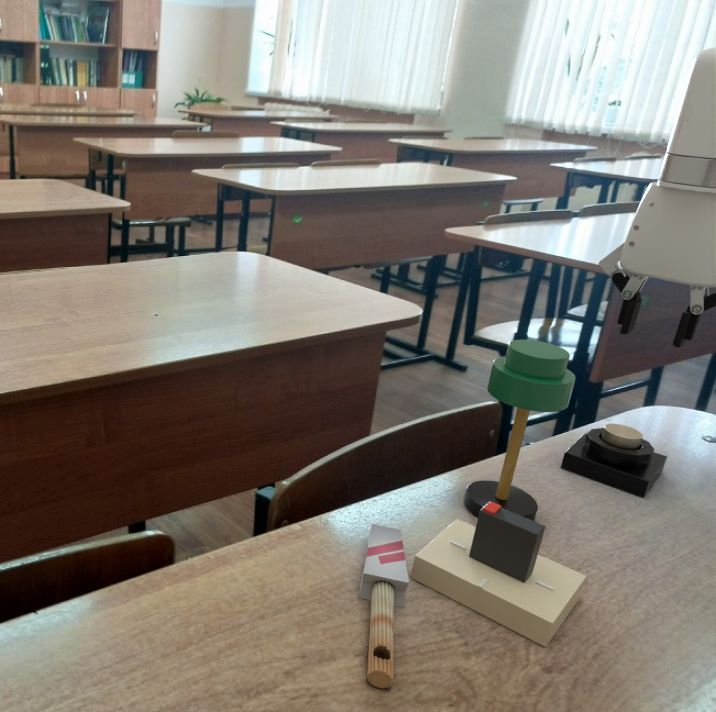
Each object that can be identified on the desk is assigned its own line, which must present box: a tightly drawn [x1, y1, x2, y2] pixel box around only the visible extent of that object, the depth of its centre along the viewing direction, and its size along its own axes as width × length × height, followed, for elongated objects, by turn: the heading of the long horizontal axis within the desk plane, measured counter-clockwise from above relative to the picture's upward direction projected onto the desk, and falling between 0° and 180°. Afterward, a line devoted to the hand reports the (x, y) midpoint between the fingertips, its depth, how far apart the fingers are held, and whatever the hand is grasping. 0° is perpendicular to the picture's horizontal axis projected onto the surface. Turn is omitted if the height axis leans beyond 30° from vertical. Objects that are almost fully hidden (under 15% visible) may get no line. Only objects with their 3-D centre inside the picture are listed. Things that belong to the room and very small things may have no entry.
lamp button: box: [601, 423, 643, 450], centre depth 88 cm, size 4×4×2 cm
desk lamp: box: [463, 339, 577, 522], centre depth 76 cm, size 8×8×19 cm
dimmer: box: [410, 518, 588, 648], centre depth 66 cm, size 12×9×3 cm
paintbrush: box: [358, 523, 410, 689], centre depth 64 cm, size 4×3×20 cm
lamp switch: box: [560, 427, 668, 499], centre depth 89 cm, size 9×9×4 cm
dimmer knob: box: [469, 502, 546, 582], centre depth 65 cm, size 5×2×5 cm, turn 46°
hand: (652, 336), depth 83 cm, fingers open, 4 cm apart
